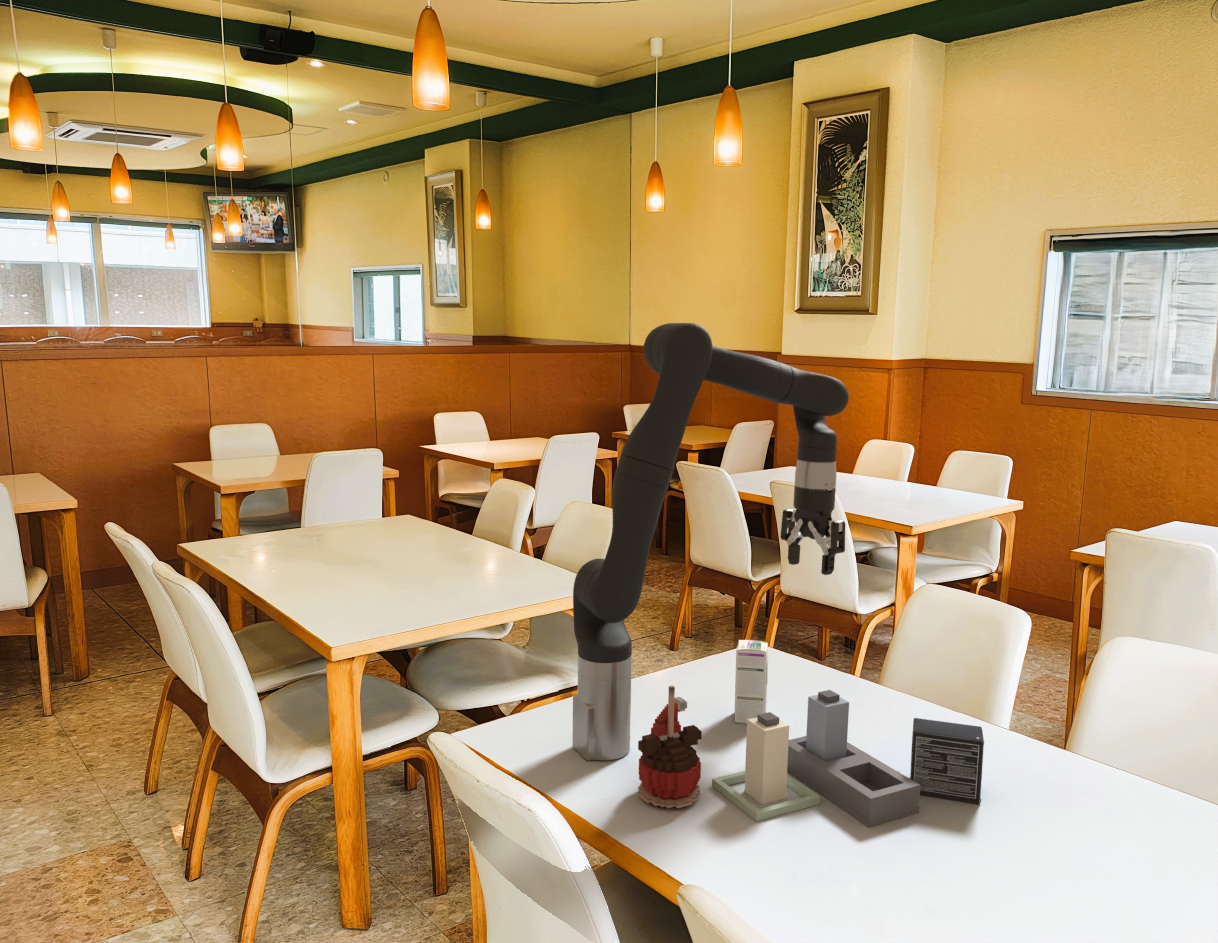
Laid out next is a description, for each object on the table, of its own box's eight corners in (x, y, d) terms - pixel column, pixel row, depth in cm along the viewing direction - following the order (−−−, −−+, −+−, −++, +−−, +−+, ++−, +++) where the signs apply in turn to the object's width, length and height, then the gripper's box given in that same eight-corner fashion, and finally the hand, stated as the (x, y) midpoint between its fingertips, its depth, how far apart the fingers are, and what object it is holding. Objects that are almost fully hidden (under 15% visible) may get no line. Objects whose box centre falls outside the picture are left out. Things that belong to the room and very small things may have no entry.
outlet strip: (868, 827, 133) (870, 798, 132) (780, 767, 152) (781, 741, 151) (918, 812, 137) (920, 784, 137) (827, 755, 156) (828, 730, 155)
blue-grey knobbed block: (823, 777, 146) (827, 701, 144) (805, 765, 150) (808, 690, 148) (845, 771, 148) (849, 696, 146) (826, 760, 152) (830, 686, 150)
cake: (654, 818, 135) (657, 703, 132) (624, 790, 143) (626, 682, 140) (714, 802, 140) (717, 691, 137) (681, 776, 148) (684, 671, 145)
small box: (978, 786, 146) (983, 725, 144) (980, 805, 140) (985, 741, 138) (909, 775, 149) (913, 715, 148) (908, 793, 143) (913, 731, 142)
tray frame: (756, 821, 134) (756, 813, 134) (711, 785, 145) (712, 778, 145) (820, 803, 140) (820, 796, 139) (772, 770, 150) (773, 763, 150)
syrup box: (765, 726, 168) (768, 650, 166) (733, 722, 169) (736, 648, 167) (766, 713, 173) (769, 640, 171) (735, 710, 174) (737, 638, 172)
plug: (761, 804, 139) (765, 724, 137) (744, 791, 143) (747, 713, 141) (785, 798, 141) (789, 719, 139) (768, 785, 145) (771, 708, 143)
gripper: (773, 480, 172) (769, 563, 175) (829, 491, 161) (823, 580, 163) (802, 477, 176) (797, 559, 179) (858, 488, 165) (852, 575, 167)
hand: (810, 569), depth 171 cm, fingers open, 8 cm apart
